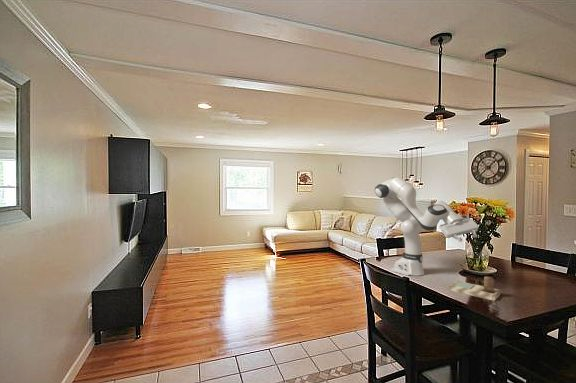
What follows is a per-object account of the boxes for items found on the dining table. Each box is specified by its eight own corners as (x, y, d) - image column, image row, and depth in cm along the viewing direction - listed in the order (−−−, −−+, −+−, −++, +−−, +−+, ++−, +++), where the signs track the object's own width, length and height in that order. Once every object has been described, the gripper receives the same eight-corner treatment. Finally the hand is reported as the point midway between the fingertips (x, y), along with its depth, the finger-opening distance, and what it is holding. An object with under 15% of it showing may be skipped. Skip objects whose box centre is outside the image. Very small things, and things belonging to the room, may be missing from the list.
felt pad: (454, 285, 165) (454, 284, 165) (459, 282, 171) (459, 281, 171) (470, 289, 159) (470, 288, 159) (474, 285, 165) (474, 284, 165)
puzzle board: (449, 290, 165) (449, 285, 165) (457, 284, 174) (457, 280, 174) (494, 300, 148) (494, 296, 148) (500, 294, 158) (500, 289, 158)
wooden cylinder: (483, 295, 156) (483, 277, 156) (485, 293, 159) (485, 276, 159) (492, 297, 153) (492, 279, 153) (494, 295, 156) (494, 277, 156)
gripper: (439, 222, 171) (453, 240, 161) (470, 214, 172) (486, 231, 162) (436, 228, 175) (450, 246, 165) (467, 221, 176) (482, 238, 166)
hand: (468, 239), depth 163 cm, fingers open, 8 cm apart
